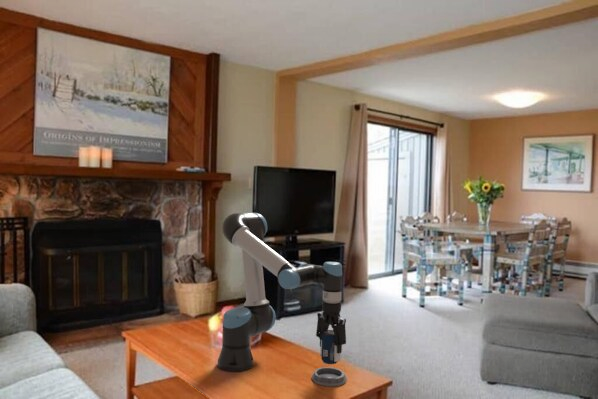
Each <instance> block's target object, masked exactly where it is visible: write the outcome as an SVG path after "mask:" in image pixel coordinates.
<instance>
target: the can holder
mask: <svg viewBox="0 0 598 399" xmlns="http://www.w3.org/2000/svg"><path fill="white" fill-rule="evenodd" d="M347 379H348V378H347V376H346V373H345V372H344V371H343V370H342V369H339V368H337V367H332V366H327V367H326V366H325V367H324V366H322V367H319V368H317V369H315V370H314V371H313V374H312V375H311V381H312V382H313V383H315V384H317V385H319V386H323V387H329V388H331V387H334V388H335V387H340V385H341V386H343V385H345V384H346V382H347ZM344 383H345V384H344Z"/></svg>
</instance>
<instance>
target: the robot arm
mask: <svg viewBox="0 0 598 399" xmlns="http://www.w3.org/2000/svg"><path fill="white" fill-rule="evenodd" d="M221 227H222V228H221V229H222V234H223V237H224V238H225V239H226V240H227V241H228V242H229V243H230V244H232V246H234V247H239V248H240V249H241V254H242V263H243V265H242V266H243V276H244V287H245V288H244V289H245V299H246V300H245V302H244V303H243V307H240V306H239V307H233V308H230V309H227V310H226V311H225V312H224V313H223V319H222V338H221V339H222V340H221V341H222V342H221V350H220V351H219V352H220V353H219V356H218V359H217V367H218V369H220V370H222V371H224V372H225V371H226V372H233V373H235V372H245V371H248V370H250V369H252V368H253V367H254V357H253V353H252V349H251V337H254V336H255V337H256V336H257V335H260V334H264V333H266V332H268V331H269V330H271V329H272V328H273V327H274V326H275V323H276V316H277V315H276V312H275V310H274V309H273V307H272V306H271V305H270V300H268V299H267V298H266V290H265V280H264V278H265V277H264V269H263V267H264V268H265V269H266V270H267V271H269V273H272V274H273V275H274V276H276V278H277V282H278V283H279V285H280V287H282V288H283V289H284V290H292V289H296V288H300V287H304V286H308V285H310V284H315V285H320V286H322V300H323V301H322V303H321V304H322V307H321V309H322V312H317V314H316V315H317V323H316V324H317V325H316V333H315V336H316V337H317V338H318V339H319V347H320V357H321V355H322V335H323V333H324V331H326V330H329V328H330V326H331V329H332V330H333V332H334V336H335V341H336V344H335V349H334V361H335V362H337V361H338V362H339V361H341V353H342V351H343V350H342V349H343V348H342V347H343V345H346V344H347V335H346V334H347V332H346V331H347V330H346V321H347V319H346V318H342V317H341V315H340V314H341V312H342V302H341V301H342V283H343V266H342V264H341V262H338V261H325V262H324V263H323V265H318V264H317V265H316V264H312V263H301V264H299V265H298V266H297V267H296V266H294V265H293V264H292V263H290V262H289V261H287V260H286V259H285V258H284V257H283V256H282V255H280V254H279V253H278V252H276V251H275V250H274V249H272V248H271V247H270V246H268V244H266V243H264V236H266V233H267V232H268V223H267V220H266V218H265V217H264V216H263V215H262V214H260V213H258V212H242V213H241V212H239V213H235V212H234V213H232V214H229V215H228V216H226V217H225V219H224V221H223V222H222V225H221ZM338 362H337V363H338Z"/></svg>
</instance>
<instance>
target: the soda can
mask: <svg viewBox="0 0 598 399" xmlns="http://www.w3.org/2000/svg"><path fill="white" fill-rule="evenodd" d="M335 344H336V341H335V336H334V332H333V329H328V330H326V331H324V333H323V335H322V355H321V356H320V359H321V360H322V362H323V363H324V365H325V364H326V365H336V364H338V362H339V361H337V362H335V361H334V349H335Z"/></svg>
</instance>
